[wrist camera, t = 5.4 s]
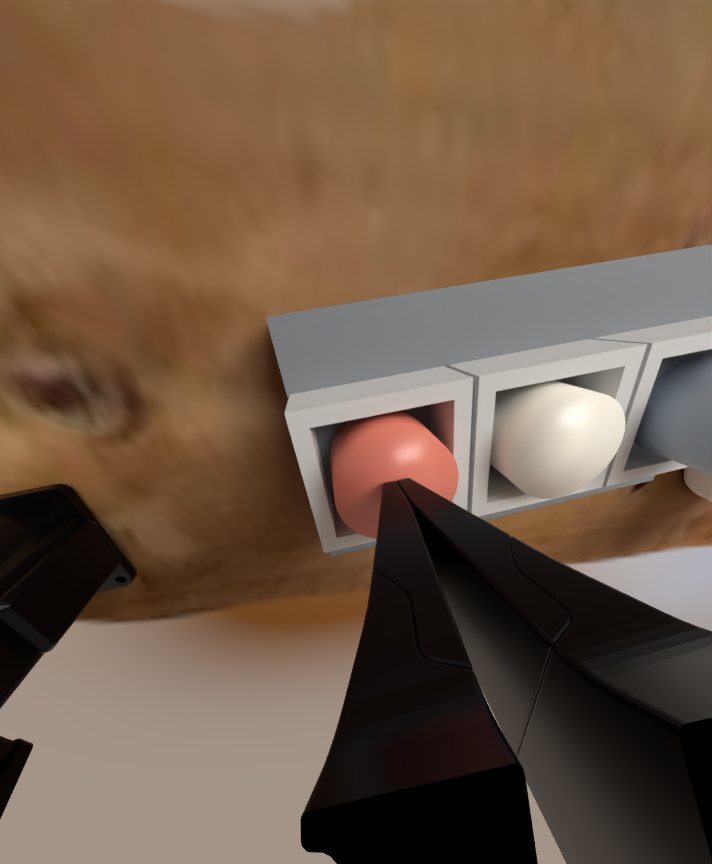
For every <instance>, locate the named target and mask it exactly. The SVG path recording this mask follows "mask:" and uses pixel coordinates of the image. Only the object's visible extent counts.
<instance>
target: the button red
mask: <svg viewBox="0 0 712 864" xmlns="http://www.w3.org/2000/svg"><path fill="white" fill-rule="evenodd" d="M330 466H331V474H332V482H333V490H334V498H335V505H336V508H337V511H338V513H339V515H340V517H341V519H342V520H343V521H344V523H345V524H346V525H347V526H348V527H349V528H351V529H352V530H354V531H355V532H357V533H359V534H361V535H363V536H366V537H370V538H374V539H376V538H377V530H378V521H379V513H380V504H381V496H382V487H383V484H384V483H386V482H391V481H397V480H400V479H404V478H411V479H412V480H414V481H416V482H418V483H419V484H421V485H423V486H425V487H426V488H428V489H430V490H432V491H433V492H435V493H437V494H439V495H440V496H442V497H444V498H446V499H448V500H449V501H451V502H452V500H453V498H454V496H455V493H456V491H457V487H458V480H459V475H458V467H457V464H456V461H455V459H454V457H453V455H452V454H451V452H450V451H449V450H448V449H447V448H446V447H445V446H444V445H443V444H442V443H441V442H440V441H439V440H438V439H437V438H436V437H435V436H434V435H433V434H432V433H431V432H430V431H429V430H428V429H427V428H426V427H425V426H424V425H423V424H422V423H421V422H420V421H419V420H418V419H417V418H416V417H415V416H413V415H412V414H411V413H409V412H408V411H406V410H400V411H395V412H390V413H385V414H380V415H375V416H370V417H364V418H359V419H354V420H349V421H345V422H344V423H343V424H342V425H341V426H340V427H339V429H338V430H337V432H336V433H335V435H334V437H333V440H332V443H331V446H330Z"/></svg>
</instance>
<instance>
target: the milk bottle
mask: <svg viewBox="0 0 712 864" xmlns="http://www.w3.org/2000/svg"><path fill="white" fill-rule="evenodd" d="M684 481H685V484H686V485H687V486H688V487H689V488H690V489H691V490H692V491H693V492H694V493H695V494H697V495H699V496H701V497H703V498H705V499H707V500H709V501H711V502H712V476H711V475H708V474H706V473H703V472H701V471H698V470H696V469H693V468H691V467H686V468H685V469H684Z"/></svg>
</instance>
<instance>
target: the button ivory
mask: <svg viewBox="0 0 712 864" xmlns="http://www.w3.org/2000/svg"><path fill="white" fill-rule="evenodd" d="M624 432H625V415H624V412H623V409H622V407H621V405H620V404H619V403H618V402H617V401H616V400H615V399H614V398H612V397H611V396H608V395H606V394H603V393H599V392H595V391H591V390H588V389H584V388H580V387H577V386H573V385H569V384H565V383H562V382H558V381H554V380H552V381H547V382H542V383H537V384H531V385H526V386H521V387H516V388H511V389H506V390H501V391H496V398H495V410H494V421H493V433H492V444H491V456H490V464H491V465H492V466H493V467H494V468H495V469H497V470H498V471H499V472H500V473H501V474H503V475H504V476H505V477H506V478H507V479H509V480H510V481H511V482H512V483H513V484H515V485H516V486H517V487H518V488H519V489H521V490H522V491H523V492H524V493H526V494H527V495H529V496H531V497H534V498H539V499H552V498H558V497H562V496H565V495H567V494H570V493H572V492H574V491H576V490H578V489H580V488H582V487H583V486H585V485H586V484H588V483H589V482H591V481H592V480H593V479H594V478H596V477H597V476H598V475H599V474H600V473H601V472H602V471H603V470H604V469H605V468H606V466H607V465H608V464H609V463H610V461H611V460H612V459H613V457H614V456H615V454H616V452H617V451H618V449H619V447H620V444H621V442H622V439H623V436H624Z"/></svg>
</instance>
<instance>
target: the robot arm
mask: <svg viewBox="0 0 712 864" xmlns="http://www.w3.org/2000/svg"><path fill="white" fill-rule="evenodd" d="M58 495H59V496H58ZM135 576H136V571H135V570H134V568H133V567H132V566H131V564H130V563H129V562H128V560H127V559H126V558H125V556H124V555H123V554H122V553H121V551H120V550H119V549H118V547H117V546H116V545H115V543H114V542H113V541H112V539H111V538H110V537H109V535H108V534H107V533H106V532H105V530H104V529H103V528H102V526H101V525H100V524H99V522H98V521H97V520H96V518H95V517H94V516H93V514H92V513H91V512H90V510H89V509H88V508H87V507H86V505H85V504H84V503H83V501H82V500H81V499H80V497H79V496H78V495H77V493H76V492H75V491H74V490H73V489H72V488H71V487H69V486H67V485H63V484H54V485H49V486H44V487H39V488H34V489H29V490H24V491H19V492H14V493H9V494H4V495H0V709H1V707H2V706H3V705H4V704H5V702H6V701H7V700H8V698H9V697H10V696H11V694H12V693H13V692H14V691H15V690H16V688H17V687H18V686H19V685H20V683H21V682H22V681H23V680H24V678H25V677H26V676H27V674H28V673H29V672H30V670H31V669H32V668H33V667H34V665H35V664H36V663H37V662H38V660H39V659H40V658H41V657H42V656H43V654H44V653H46V652H48V651H51V650H52V649H53V648H54V647H55V646H56V644H57V643H58V642H59V640H60V639H61V638H62V637H63V635H64V634H65V633H66V631H67V630H68V629H69V627H70V626H71V625H72V624H73V622H74V621H75V620H76V619H77V617H78V616H79V615H80V613H81V612H82V611H83V610H84V608H85V607H86V606H87V604H88V603H89V602H90V601H91V599H92V598H93V597H94V595H95V594H96V593H97V592H101V591H105V590H110V589H114V588H118V587H123V586H126V585H129V584H130V583H131V582H132V581H133V579H134V578H135ZM479 685H480V686H479ZM480 687H481V688H480ZM481 689H482V690H481ZM482 691H483V693H484V695H485V697H486V699H487V701H488V703H489V705H490V708H491V709H492V711H493V713H494V716H495V718H496V719H497V722H498V724H499V726H500V728H501V729H500V728H499V726H498V724H497V722H496V720H495V719H494V717H493V715H492V713H491V711H490V708H489V706H488V704H487V702H486V700H485V698H484V695H483V693H482ZM501 730H502V731H501ZM502 732H503V733H502ZM32 748H33V744H32V743H30V742H27V741H25V740H22V739H16V740H13V741H12V740H9V739H6V738H4V737H1V736H0V819H1V816H2V814H3V812H4V810H5V807H6V805H7V803H8V801H9V799H10V796H11V794H12V792H13V790H14V788H15V785H16V783H17V781H18V779H19V777H20V774H21V772H22V770H23V767H24V766H25V763H26V761H27V759H28V757H29V755H30V752H31V750H32ZM526 782H527V784H528V786H529V788H530V790H531V792H532V794H533V796H534V798H535V800H536V802H537V804H538V806H539V808H540V810H541V812H542V814H543V816H544V819H545V820H546V823H547V825H548V827H549V829H550V831H551V833H552V835H553V837H554V839H555V841H556V843H557V845H558V847H559V849H560V851H561V853H562V855H563V857H564V860H565V862H566V864H712V631H709V630H706V629H703V628H700V627H697V626H695V625H692V624H690V623H687V622H685V621H682V620H680V619H677V618H675V617H673V616H671V615H669V614H666V613H664V612H662V611H660V610H658V609H656V608H654V607H652V606H650V605H648V604H645V603H643V602H641V601H639V600H637V599H635V598H633V597H631V596H629V595H627V594H625V593H622V592H620V591H618V590H616V589H614V588H612V587H610V586H608V585H606V584H604V583H602V582H600V581H597V580H595V579H593V578H591V577H589V576H587V575H585V574H583V573H581V572H579V571H577V570H575V569H573V568H571V567H569V566H567V565H565V564H563V563H561V562H559V561H557V560H555V559H553V558H551V557H549V556H547V555H545V554H544V553H542V552H540V551H538V550H536V549H534V548H532V547H531V546H529V545H527V544H525V543H523V542H522V541H520V540H518V539H516V538H515V537H513V536H512V537H510V535H509V534H507V533H506V532H504V531H502V530H500V529H499V528H497V527H495V526H493V525H492V524H490V523H488V522H486V521H484V520H483V519H481V518H479V517H477V516H476V515H474V514H472V513H470V512H469V511H467V510H465V509H463V508H462V507H460V506H458V505H456V504H455V503H453V502H451V501H449V500H448V499H446V498H444V497H442V496H440V495H439V494H437V493H435V492H433V491H432V490H430V489H428V488H426V487H425V486H423V485H421V484H419V483H418V482H416V481H414V480H412V479H411V478H404V479H400V480H397V481H391V482H386V483H384V484H383V487H382V496H381V504H380V513H379V521H378V530H377V538H376V547H375V556H374V564H373V572H372V580H371V587H370V594H369V600H368V607H367V611H366V616H365V620H364V625H363V630H362V634H361V638H360V642H359V646H358V650H357V653H356V657H355V661H354V665H353V669H352V673H351V677H350V681H349V685H348V688H347V692H346V696H345V700H344V704H343V708H342V711H341V715H340V719H339V722H338V725H337V729H336V732H335V735H334V738H333V741H332V744H331V747H330V750H329V753H328V756H327V759H326V762H325V764H324V767H323V769H322V771H321V773H320V776H319V778H318V780H317V782H316V785H315V787H314V789H313V792H312V794H311V796H310V799H309V801H308V803H307V805H306V807H305V810H304V812H303V814H302V816H301V844H302V846H303V848H304V849H305V850H306V851H307V852H318V853H321V852H322V853H325V854H327V855H329V856H331V857H332V859H333V860H334V861H335V862H336V863H337V864H538V862H537V856H536V848H535V842H534V835H533V828H532V820H531V813H530V807H529V800H528V792H527V786H526Z"/></svg>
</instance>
